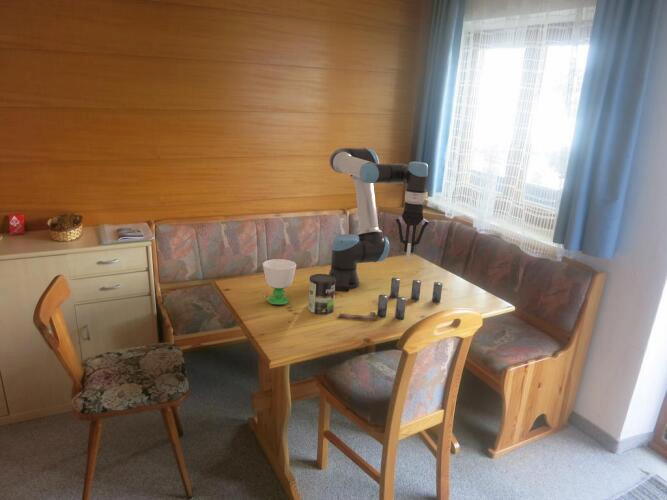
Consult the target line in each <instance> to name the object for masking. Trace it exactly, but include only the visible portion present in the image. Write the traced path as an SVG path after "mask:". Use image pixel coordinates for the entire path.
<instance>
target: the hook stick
mask: <svg viewBox="0 0 667 500" xmlns="http://www.w3.org/2000/svg"><path fill="white" fill-rule="evenodd" d="M369 313H370V314H369V315H365V314H364V315H363V314H362V315H361V314H350V313H339V314H338V319H342V320H357V321H365V322H366V321H368V322H376V320H377V312H375V311H370V312H369Z"/></svg>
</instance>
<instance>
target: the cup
mask: <svg viewBox="0 0 667 500" xmlns="http://www.w3.org/2000/svg"><path fill="white" fill-rule="evenodd" d="M262 267H263V272H264V277H265V278H264V279H265V283H266V285H267V286H269V287H270V288H272V289H273V291H272V294H273V296H270V297H268V298H267V302H268V303H269V304H273V305H285V304H288V303H290V298H289V297H286V296H284V295H285V290H284V289H287V288H289V287H290V286H291V285H292V284H293V281H294V277H295V272H296V269H297V263H296V262H294V261H293V260H289V259H283V258H282V259H281V258H279V259H278V258H276V259H275V258H274V259H268V260H265V261H263V262H262Z"/></svg>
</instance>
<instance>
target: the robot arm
mask: <svg viewBox="0 0 667 500" xmlns="http://www.w3.org/2000/svg"><path fill="white" fill-rule="evenodd" d="M329 165H330V168H331V169H332V170H333V171H334V172H336V173H339V174H348V175H350V179H351V180H352V181H353V182H354V188H355V196H356V203H357V204H356V206H357V213H358V215H357V216H358V221H359V232H358V233H357V234H354V233H343V234H339V235H336V236H335V237H334V238H333V239H332V244H331V245H332V246H331V263H330V270H329V273H328V275H331V276H334V277H335V278H336V282H335V291H343V292H344V291H345V292H346V291H348V292H349V291H350V290H354V289H357V288H358V287H359V286H360V280H359V275H358V272H357V267H358V264H364V263H377V262H383V261H385V260H386V259H387V257H388V255H389V251H390V242H389V239H388V237H387V236H384V234H383V231H382V230H381V229H380V228H379V221H378V212H377V211H378V210H377V204H376V195H375V187H374V184H404V185H406V186H405V195H404V201H405V202H404V203H403V212H402V213H401V216H399V217H396V218H395V221H396V223H397V225H398V233H399V240H400V243H402V244H403V245H404V247H403V252H404V253H406V255H405V261H406V262H410V260H411V254H413V253H414V251H415V250H414V249H415V246H416V245H419V244H420V241H421V239H422V236H423V234H424V231H425V228H426V227H427V226H428V225H429V221H428V220H427V219H425V218H424V215H423V213H424V207H425V206H424V205H425V204H424V202H425V199H426V190H427V189H426V188H427V182H428V175H429V171H428V170H429V166H428V163H426V162H423V161H422V162H421V161H410V162H409V163H408V164H405V163H402V162H401V163H399V162H398V163H397V162H396V163H380V161H379V156H378V155H377V153H376V151H374V150H373V149H372V148H371V149H370V148H365V147H364V148H353V147H349V148H348V147H340V148H338V149H336V150H335V151H333V152H332V154H331V155H330V157H329ZM402 222H404V224H405V225H406V229H405V230H406V231H405V239H404V233H403V232H404V231H403V225H402ZM419 224H421V227H420V230H419V233H418V235H417V234H416V231H417V226H418V225H419ZM411 226H412V234H411V235H412V236H411V242H410V243H409V234H410V227H411ZM416 235H417V238H416Z"/></svg>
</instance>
